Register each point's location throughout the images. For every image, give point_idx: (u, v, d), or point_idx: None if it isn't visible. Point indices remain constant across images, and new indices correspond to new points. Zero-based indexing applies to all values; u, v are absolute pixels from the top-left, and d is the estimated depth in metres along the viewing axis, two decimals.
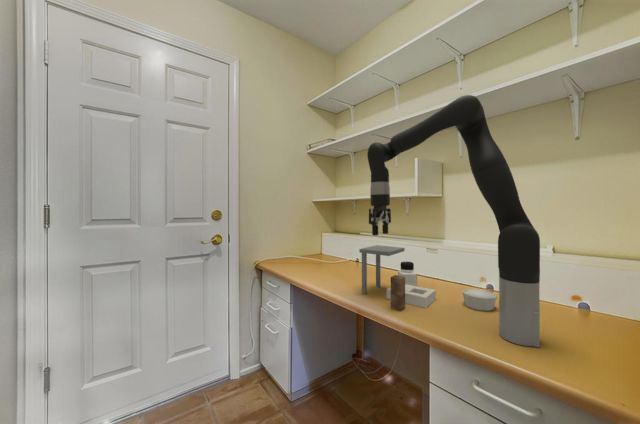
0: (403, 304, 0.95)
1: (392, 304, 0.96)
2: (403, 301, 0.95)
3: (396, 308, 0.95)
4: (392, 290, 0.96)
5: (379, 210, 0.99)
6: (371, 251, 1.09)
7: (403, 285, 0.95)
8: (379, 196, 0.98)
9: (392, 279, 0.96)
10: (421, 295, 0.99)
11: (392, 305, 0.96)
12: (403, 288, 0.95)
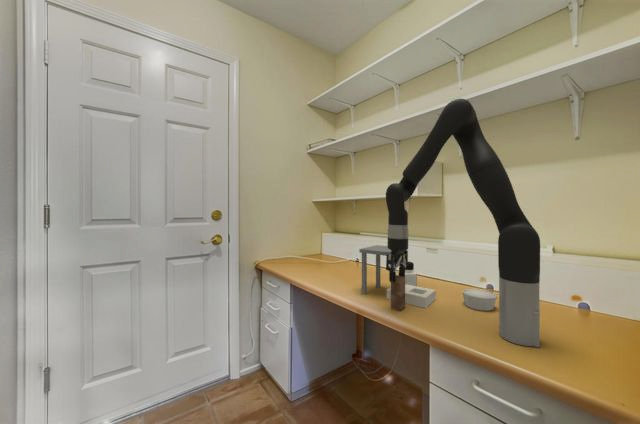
0: (403, 304, 0.95)
1: (392, 304, 0.96)
2: (403, 301, 0.95)
3: (396, 308, 0.95)
4: (392, 290, 0.96)
5: (397, 255, 0.93)
6: (371, 251, 1.09)
7: (403, 285, 0.95)
8: (397, 241, 0.93)
9: None
10: (421, 295, 0.99)
11: (392, 305, 0.96)
12: (403, 288, 0.95)
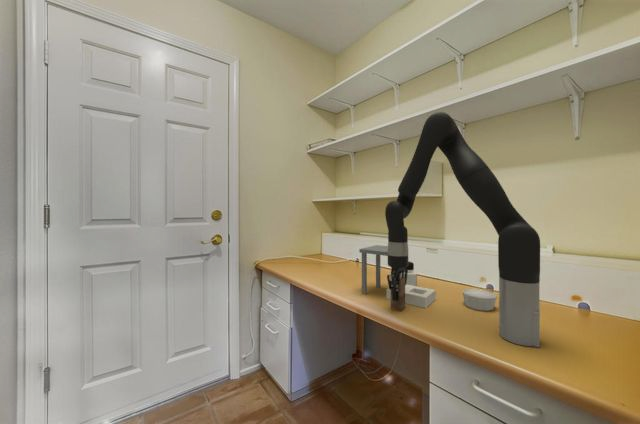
0: (403, 304, 0.95)
1: (392, 304, 0.96)
2: (403, 301, 0.95)
3: (396, 308, 0.95)
4: None
5: (397, 272, 0.93)
6: (371, 251, 1.09)
7: (403, 285, 0.95)
8: (397, 258, 0.93)
9: None
10: (421, 295, 0.99)
11: (392, 305, 0.96)
12: (403, 288, 0.95)
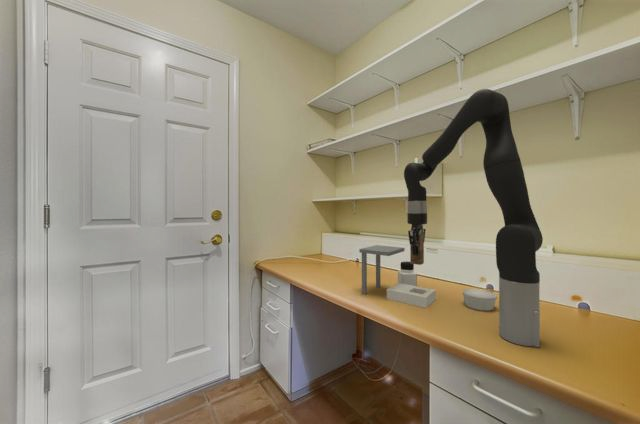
0: (422, 259, 1.03)
1: (412, 259, 1.03)
2: (422, 256, 1.03)
3: (416, 262, 1.02)
4: None
5: (417, 229, 1.01)
6: (371, 251, 1.09)
7: (422, 241, 1.03)
8: (418, 215, 1.00)
9: None
10: (421, 295, 0.99)
11: (412, 260, 1.03)
12: (422, 244, 1.03)
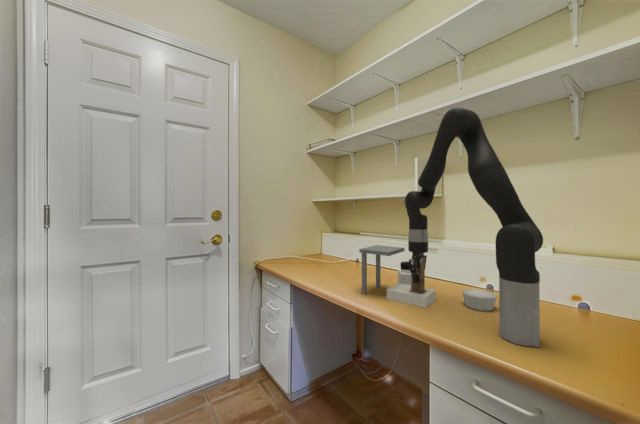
0: (423, 287, 1.03)
1: (412, 286, 1.04)
2: (423, 284, 1.03)
3: (416, 290, 1.03)
4: None
5: (418, 257, 1.01)
6: (371, 251, 1.09)
7: (422, 269, 1.03)
8: (418, 244, 1.00)
9: None
10: (421, 295, 0.99)
11: (412, 287, 1.04)
12: (423, 272, 1.03)
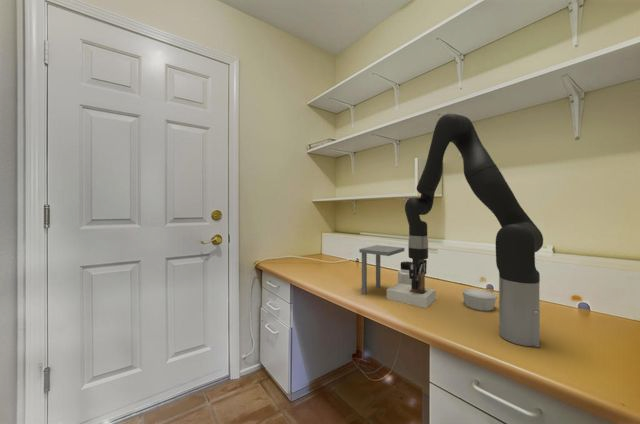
0: None
1: None
2: None
3: None
4: None
5: (418, 264, 1.01)
6: (371, 251, 1.09)
7: (423, 279, 1.03)
8: (418, 250, 1.00)
9: None
10: (421, 295, 0.99)
11: None
12: (423, 282, 1.03)
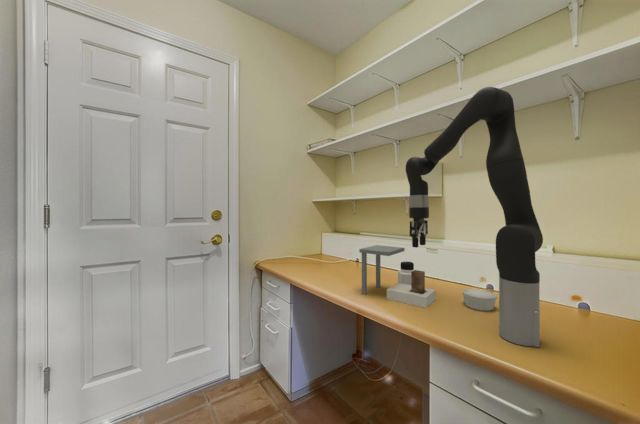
0: None
1: None
2: None
3: None
4: (413, 284, 1.03)
5: (419, 223, 1.01)
6: (371, 251, 1.09)
7: (423, 279, 1.03)
8: (419, 209, 1.00)
9: (413, 273, 1.03)
10: (421, 295, 0.99)
11: None
12: (423, 282, 1.03)
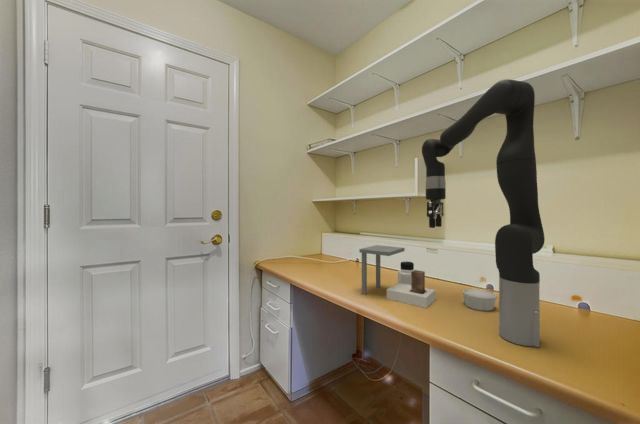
0: None
1: None
2: None
3: None
4: (413, 284, 1.03)
5: (436, 203, 1.02)
6: (371, 251, 1.09)
7: (423, 279, 1.03)
8: (436, 190, 1.02)
9: (413, 273, 1.03)
10: (421, 295, 0.99)
11: None
12: (423, 282, 1.03)
